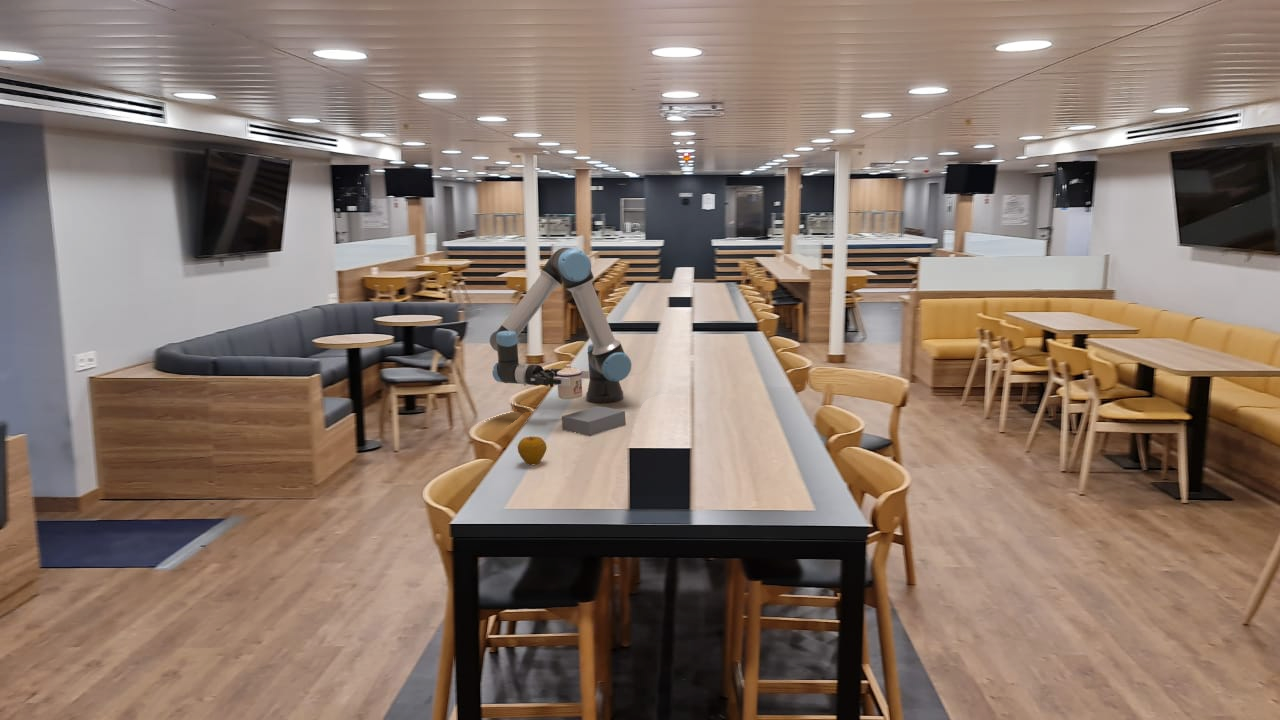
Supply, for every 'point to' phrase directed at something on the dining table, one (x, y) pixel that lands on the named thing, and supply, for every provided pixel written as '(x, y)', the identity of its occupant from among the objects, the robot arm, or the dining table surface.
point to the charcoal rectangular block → (593, 420)
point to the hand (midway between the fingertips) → (579, 378)
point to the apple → (532, 449)
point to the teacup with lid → (575, 383)
